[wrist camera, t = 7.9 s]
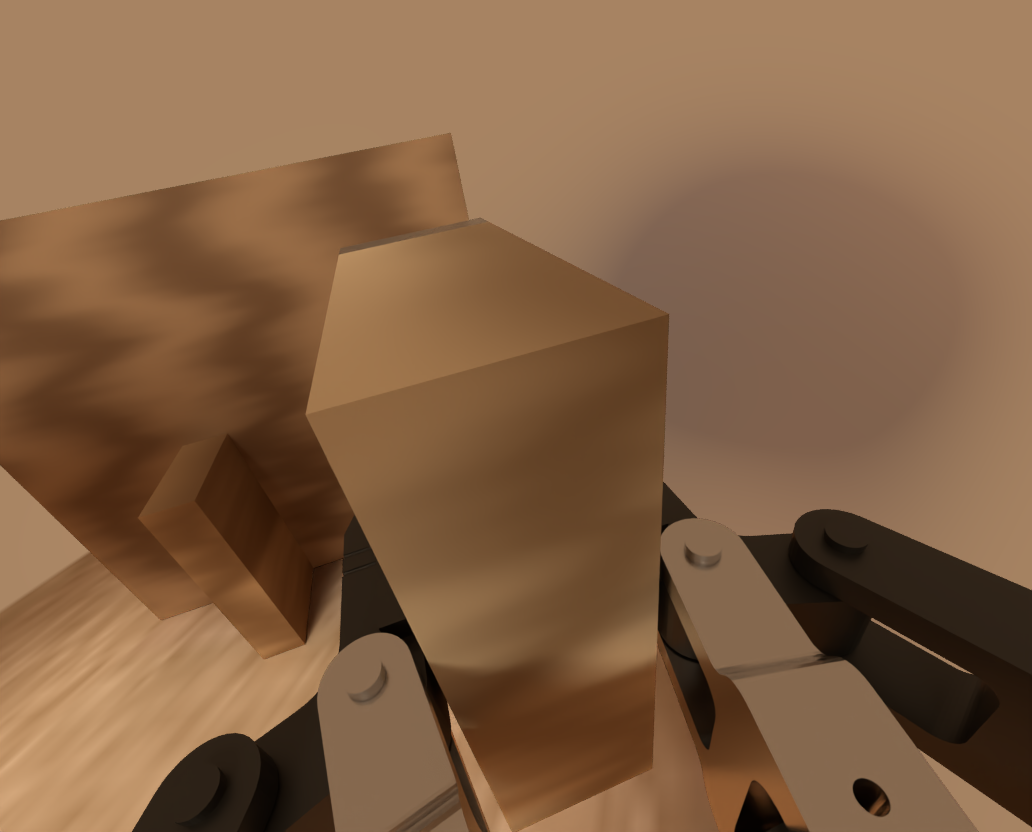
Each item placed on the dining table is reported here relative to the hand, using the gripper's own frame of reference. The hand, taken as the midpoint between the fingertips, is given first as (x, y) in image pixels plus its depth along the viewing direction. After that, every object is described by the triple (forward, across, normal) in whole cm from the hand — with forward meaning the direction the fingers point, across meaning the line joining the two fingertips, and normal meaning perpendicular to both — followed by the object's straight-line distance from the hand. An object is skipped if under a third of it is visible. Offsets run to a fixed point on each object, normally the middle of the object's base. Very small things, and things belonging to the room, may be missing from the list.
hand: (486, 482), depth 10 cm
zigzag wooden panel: (+11, +8, +13) cm, 19 cm away
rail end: (0, 0, +6) cm, 6 cm away
